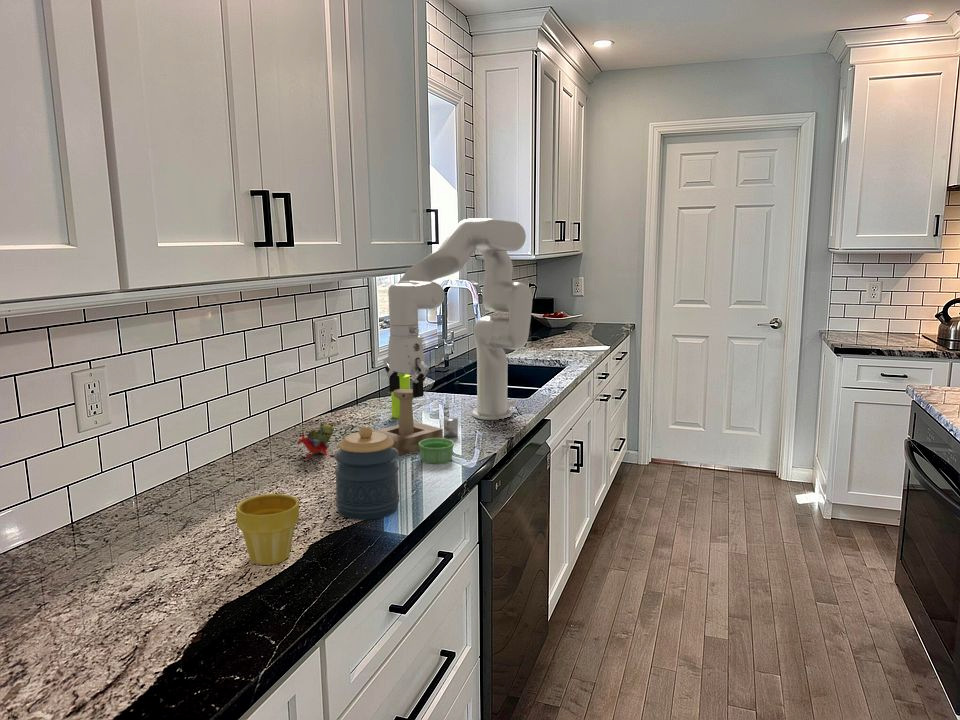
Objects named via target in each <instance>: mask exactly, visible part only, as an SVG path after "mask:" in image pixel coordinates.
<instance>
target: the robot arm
mask: <svg viewBox="0 0 960 720" xmlns="http://www.w3.org/2000/svg"><path fill="white" fill-rule="evenodd" d="M526 236H527V235H526V230H525V229H524V227H523V226H522V225H521V223H519V222H517V221H509V220H503V219H496V218H467V219H463V220H461V221H459V222H458V224H457V225H456V226H455V227H454V228H453V230H451V232H450V234H449V235H448V237H447V238H445V240H444V242H442V244H441V245H440V246H439V248H438V249H437V250H436V251H434V252H432V253H430V254H428V255H427V256H425V257H424V258H423V259H420V260H419V261H417V262H416V263H414V264H413V265H412V266H410V267H409V268H408V270H406V272H405V273H404V274H403V276H402V277H400V280H398V282H397V283H394V284H391V285H390V286H389V287H388V291H387V292H388V293H387V295H388V314H389V316H388V317H389V318H388V319H389V337H388V348H387V349H388V351H387V356H386V357H385V358H384V359H383V361H382V362H383V365H384V367H385V368H384V369H385V371H386V373H387V377H388V383H389V385H388V386H389V392H390V393H391V392H394V390H396V389H400V378H399V376H397V375H398V374H399V373H402V374H407V375H410V378H412V380H413V382H412V389H413V397H414V398H413V399H416V398H420V397H423V396H424V392H425V391H424V382H425V381H426V378H427V377H428V373H429V370H430V368H429V366H428V365H427V364H426V363H425V355H424V348H423V342H422V339H421V336H420V335H419V334H420V333H419V332H420V329H419V310H436V309H437V308H439V307H440V306H441V305H442V304H444V303H443V302H444V301H445V296H446V295H445V289H444V288H443V287H442V286H441V285H440V284H439V283H437V282H435V281H436V280H438V279H441V278H445V277H449V276H451V275H454V274H456V273H458V272H460V271H461V270H462V269H463V267H465V264H466V263H467V262H468V260H469V259H470V258H471V256H472V255H473V254H474V252H476V250H479V252H480V254H481V256H482V257H483V261H484V264H485V265H484V266H485V267H484V268H485V269H484V281H483V290H482V306H483V307H484V309H486V310H487V311H489V312H494V313H503V314H504V313H506V314H509V315H508V317H507V316H499V315H498V316H495V315H486V316H483V317H480V318H479V319H478V320H477V321H476V322H475V324H474V327H473V337H474V341H475V347H476V360H477V361H476V363H477V364H476V366H477V367H476V369H477V370H476V375H477V376H476V382H477V385H476V391H477V392H476V393H477V394H476V396H477V397H476V399H477V400H476V401H477V402H476V405H477V407H476V408H475V409H474V410H472V413H471V414H472V415H471V416H473V418H475V419H479V420H483V421H485V420H486V421H500V420H499V419H502V420H505V419H504V418H507V417H509V416H511V415H512V416H513V411H512V410H510V407H514V406H516V405H517V401H516V399H511V400H509V399H508V367H509V366H508V364H509V363H508V357H507V353H506V351H505V350H506V349H507V350H515V351H517V350H520V349H522V348H524V347H525V345H526V344H527V342H528V339H529V335H530V329H531V328H530V326H531V319H532V310H533V294H532V291H531V289H530V287H529V286H528V285H527V284H526V283H524V282H517V281H513V270H514V265H513V261H512V259H511V257H510V255H509V254H508V252H516V251H519V250H520V249H522V248H523V247H524V245H525V244H526V243H525V242H526V240H527V239H526V238H527V237H526ZM504 349H505V350H504ZM512 416H511V417H512ZM507 419H508V418H507Z"/></svg>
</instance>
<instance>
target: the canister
mask: <svg viewBox="0 0 960 720" xmlns="http://www.w3.org/2000/svg"><path fill="white" fill-rule="evenodd" d="M372 431H373V430H372V428H371V426H369V425H363V426H361V428H359V432H354V433H350V434H348V435H346V436H345V437H344V438H343V439H341V440H340V441H338V443H337V447H338V448H339V449H338V450H337V451H336V452H335V453H334V454H333V455H334V457H333V459H334V460H335V461H336V468H335V469H334V474H335V490H336V497H335V505H336V509H337V513H338V514H339V515H341V516H342V517H345V518H348V519H353V520H361V521H362V520H363V521H367V520H376V519H380V518H384V517H387V516H389V515H392V514H394V513H395V512H396V511H398V508H399V503H400V493H399V469H400V468H399V465H398V464H397V457H399V456H398V451H397V449H395V448H394V447H392V446H393V444H394V440H393V439H392V438H390V437H388V436H387V435H385V434H383V433H380V432H372Z"/></svg>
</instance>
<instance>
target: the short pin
mask: <svg viewBox="0 0 960 720" xmlns="http://www.w3.org/2000/svg"><path fill="white" fill-rule="evenodd" d="M458 420H459V419H458V418H456V417H445V418H444V419H443V438H445V439H449V440H452V439H456V438H458V437H459V421H458Z"/></svg>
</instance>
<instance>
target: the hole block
mask: <svg viewBox="0 0 960 720" xmlns="http://www.w3.org/2000/svg"><path fill="white" fill-rule="evenodd" d="M413 423H414V431H413V434H409V435H406V436H400V435H399V424H397V425H392V426H388V427H385V428H380V429H376V430H372V432H380V433H383V434H385V435H387V436H388V437H390V438H392V439H393V440H394V444H393V446H392V447H394V448H395V449H397V451H398V456H397V457H400V455H401V456H403V455H407V454H410V453H415V452H417V451H420V448H419V445H418V444H419V442H420V441H422V440H424V439H429V438H444V428H440V427H436V426H433V425H429V424H426V423H422V422H419V421H415V420H413Z"/></svg>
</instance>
